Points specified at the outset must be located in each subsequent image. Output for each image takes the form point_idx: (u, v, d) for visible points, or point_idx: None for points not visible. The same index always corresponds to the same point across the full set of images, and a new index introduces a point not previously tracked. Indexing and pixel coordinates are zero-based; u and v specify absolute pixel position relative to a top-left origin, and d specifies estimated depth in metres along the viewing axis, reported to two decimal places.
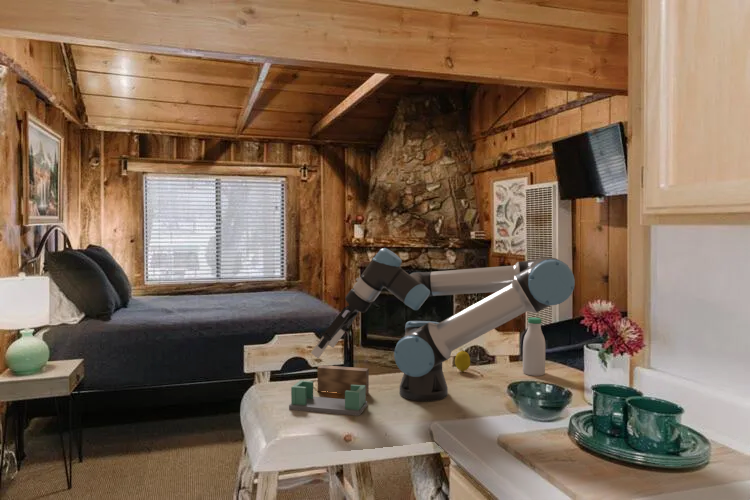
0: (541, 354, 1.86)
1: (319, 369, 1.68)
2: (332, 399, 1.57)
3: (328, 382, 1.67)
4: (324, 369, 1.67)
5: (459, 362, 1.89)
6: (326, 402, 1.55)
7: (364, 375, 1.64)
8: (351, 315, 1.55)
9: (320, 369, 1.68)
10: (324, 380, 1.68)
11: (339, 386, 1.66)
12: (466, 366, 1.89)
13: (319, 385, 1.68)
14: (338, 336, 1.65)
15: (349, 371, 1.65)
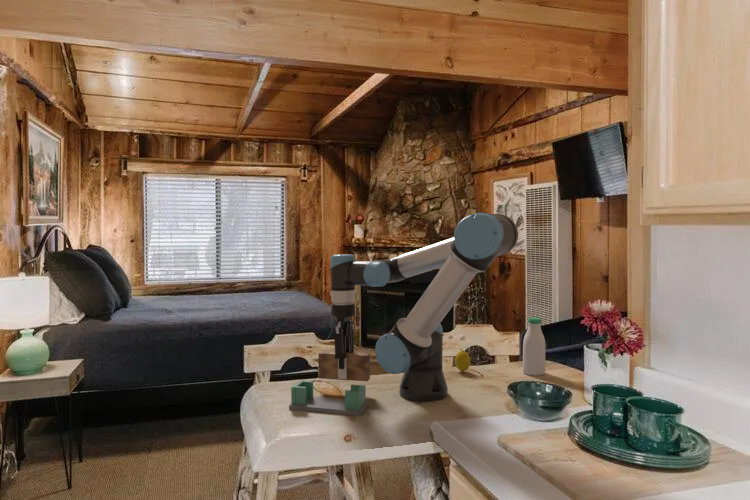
0: (541, 354, 1.86)
1: (320, 355, 1.67)
2: (332, 399, 1.57)
3: (329, 368, 1.67)
4: (325, 355, 1.67)
5: (459, 362, 1.89)
6: (326, 402, 1.55)
7: (365, 360, 1.64)
8: (345, 325, 1.65)
9: (321, 355, 1.67)
10: (325, 366, 1.67)
11: None
12: (466, 366, 1.89)
13: (320, 371, 1.67)
14: None
15: (350, 356, 1.65)
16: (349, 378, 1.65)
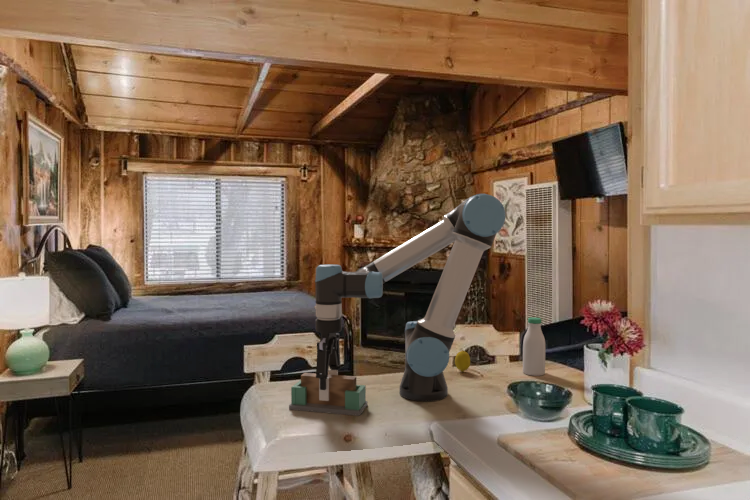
0: (541, 354, 1.86)
1: (303, 377, 1.54)
2: None
3: (312, 391, 1.54)
4: (308, 377, 1.54)
5: (459, 362, 1.89)
6: None
7: (351, 384, 1.51)
8: (330, 342, 1.51)
9: (304, 377, 1.54)
10: (308, 389, 1.54)
11: None
12: (466, 366, 1.89)
13: None
14: None
15: (334, 379, 1.52)
16: (334, 403, 1.52)
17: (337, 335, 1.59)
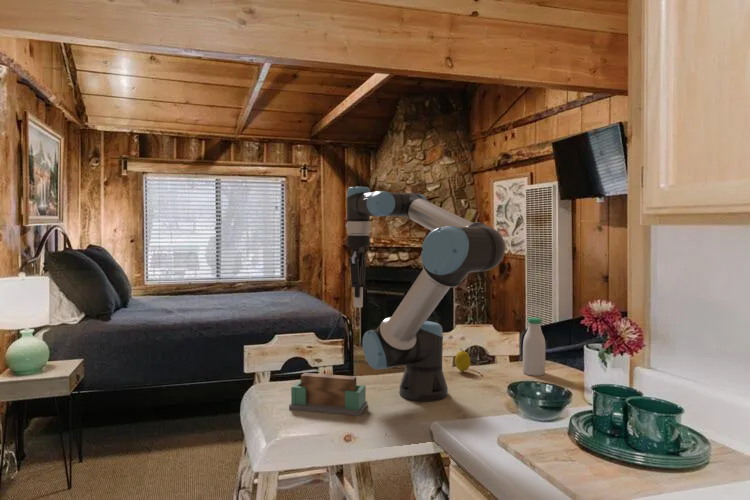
0: (541, 354, 1.86)
1: (303, 377, 1.54)
2: None
3: (312, 391, 1.54)
4: (308, 377, 1.54)
5: (459, 362, 1.89)
6: None
7: (351, 384, 1.51)
8: (360, 256, 1.70)
9: (304, 377, 1.54)
10: (308, 389, 1.54)
11: (324, 396, 1.53)
12: (466, 366, 1.89)
13: None
14: None
15: (334, 379, 1.52)
16: (334, 403, 1.52)
17: None
